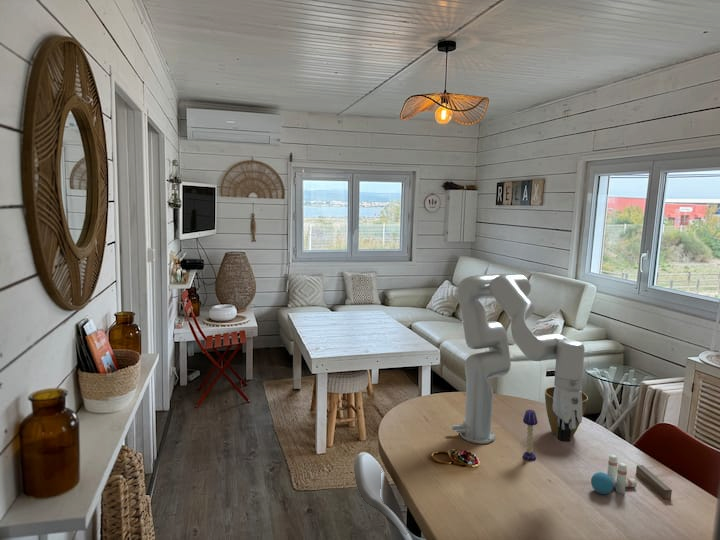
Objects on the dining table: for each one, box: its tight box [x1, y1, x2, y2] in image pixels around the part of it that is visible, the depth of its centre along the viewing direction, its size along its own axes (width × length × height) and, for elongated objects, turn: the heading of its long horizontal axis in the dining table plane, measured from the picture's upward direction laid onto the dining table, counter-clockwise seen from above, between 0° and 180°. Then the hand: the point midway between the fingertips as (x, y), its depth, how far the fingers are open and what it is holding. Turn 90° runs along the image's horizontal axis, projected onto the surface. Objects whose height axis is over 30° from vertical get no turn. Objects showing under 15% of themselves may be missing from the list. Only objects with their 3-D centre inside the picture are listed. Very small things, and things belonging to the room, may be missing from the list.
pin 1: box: [606, 454, 619, 479], centre depth 155 cm, size 2×2×8 cm
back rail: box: [635, 464, 673, 501], centre depth 153 cm, size 2×14×3 cm, turn 3°
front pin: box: [612, 477, 637, 488], centre depth 152 cm, size 2×2×8 cm
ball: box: [590, 471, 614, 495], centre depth 149 cm, size 6×6×6 cm
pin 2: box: [615, 462, 628, 495], centre depth 150 cm, size 2×2×8 cm
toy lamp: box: [522, 409, 538, 462], centre depth 168 cm, size 5×5×17 cm
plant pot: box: [544, 386, 589, 439], centre depth 186 cm, size 15×15×16 cm
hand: (563, 440), depth 150 cm, fingers closed
